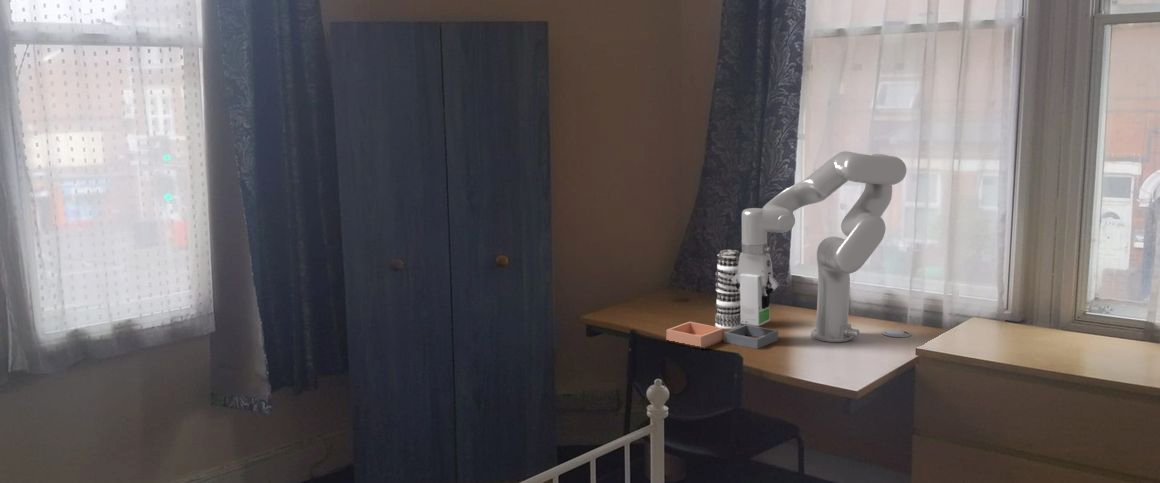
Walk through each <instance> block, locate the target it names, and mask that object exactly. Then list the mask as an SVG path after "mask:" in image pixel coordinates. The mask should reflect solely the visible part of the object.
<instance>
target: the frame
mask: <svg viewBox="0 0 1160 483" xmlns="http://www.w3.org/2000/svg"><path fill="white" fill-rule="evenodd" d="M746 335H747V336H746ZM776 341H779V330H777V329H771V328H766V327H762V326H751V325H744V324H742V325H741V326H740V327H738V328H735V329H729V330H727V331H725V332H724V336H723V343H726V344H727V343H728V344H731V345H735V346H740V347H744V348H750V349H754V350H759V349H762V348H763V347H765V346H768V345H770V344H772V343H775V342H776Z"/></svg>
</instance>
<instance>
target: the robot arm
mask: <svg viewBox="0 0 1160 483" xmlns="http://www.w3.org/2000/svg"><path fill="white" fill-rule="evenodd" d="M906 175H907V166H906V163H905V162H904V160H902V159H901V158H899V157H898V156H894V155H889V154H888V155H887V154H882V153H873V154H865V153H864V154H863V153H859V152H858V153H857V152H852V151H846V150H845V151H840V152H838V153H836V154H835V155H833V156H832V157H831V158H830V159H828V160H827V161H826V162H825V163H823V164H822V165H821V166H819V167H818V168H817V169H816V170H814V172H812V173H811V174H810V175H809V176H807V177H805V178H804V179H802V180H800V181H799V182H797V183H795V184H793V185H791V186H790V187H788V188H785V189H784V190H783V191H781V192H780V193H778V194H777V195H776V196H774V197H773V198H772V199H771V200H769V201H768V202H767V203H765V205H763V207H762V208H759V207H752V208H751V207H750V208H745V209H743V210H742V212H741V252H739V253H740V257H739V263H738V273H737V274H736V275H735V276H734V277H733V278H732V279H731V280H732V282H733V283H734V284H735V286H736V288H737V289H738V292H739V293H740V274H750V275H758V276H760V284H761V287H762V292H763V296H762V309H765V308H768V307H769V305H770V306H771V302H770V300H771V298H770V296H771V295H772V293H773V292H775V290H776V289H777V288H778V287H779V286H780V283H779V282H778V281H777V280H776V279H775V278H774V274H773V263H772V259H771V255H770V253H769V252H771V249H772V248H771V246H769V245H768V233H779V234H780V233H781V234H782V233H783V234H784V233H787V232H789V231H791V230H792V229H793V228H794V226H795V223H796V217H795V214H794V213H793V212H795V211H797V210H799V209H801V208H803V207H804V206H809V205H813V204H818V203H819V202H820V203H821V202H824V201H825V200H826V199H828V198H829V197H830V196H831V195H833V193H835V192H836V191H837V190H838V189H840V188H841V187H842V186H844V185H845V184H846V183H848V182H854V183H861V184H864V185H865V186H864V189H863V192H862V193H861V195H860V196H859V198H858V200H856V202H855V203H854V204H853V205H852V207H851V209H849V211H848V212H847V213H846V214H845V216H844V217H843V219H842V221H841V224H840V228H841V229H840V230H841V231H842V233H843V235H845V238H842V237H840V236H839V237H838V236H829V237H825V238H824V239H823V240H821V241H820V243H819V244H818V246H817V250H816V261H817V262H816V264H817V272H818V273H817V274H818V277H817V285H818V286H817V296H816V298H817V303H816V322H815V323H816V325H815V326H816V327H815V329H813V330H811V332H810V336H811V338H813V339H814V340H818V341H822V342H827V343H843V342H849V341H852V340H853V337H855V338H859V337H860V333H861V332H860V329H856V328H852V323H849V312H850V311H849V309H850V308H849V307H850V293H851V292H850V289H851V278H850V276H851V275H850V274H853V273H855V272H857V271H858V270H860V269H861V268H862V267H863V266H864V265H865V263H866V262H867V261H868V260H869V258H870V257H871V256H872V254H873V253H874V252H875V250H876V249H877V248H878V247H879V245H880V244H881V242H882V240H884V238H885V233H886V224H885V221H884V219H883V218H882V216H883V214H884V212H885V211H886V210H887V208H888V207H889V206H890V204H891V200H892V197H893V185H897V184H899V183H901V182H902V181H903V180H904V179H905V178H906Z"/></svg>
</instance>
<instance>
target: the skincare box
mask: <svg viewBox="0 0 1160 483" xmlns="http://www.w3.org/2000/svg"><path fill="white" fill-rule="evenodd" d="M762 296H763V292H762V287H761V284H760V276H758V275H750V274H740V309H741V313H740V314H741V323H740V324H741V325H751V326H756V327H761V326H762V325H765V324H766V323H768V322H770V320H771V315H770V314H771V313H770V312H771V311H770V310H771V309H770V308H771V307H770V306H771V304H770V305H769V307H768V308H765V309H762Z"/></svg>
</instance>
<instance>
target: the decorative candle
mask: <svg viewBox="0 0 1160 483" xmlns="http://www.w3.org/2000/svg"><path fill="white" fill-rule="evenodd" d="M740 253H741V252H739V250H736V249H723V250H720V252H719V253H718V254H717V255H716V256H717V265H716V267H715V269H714V270H715V271H716V272H715V273H714V274H715V278H714V279H715V282H716V283H715V284H714V285H715V291H716V292H717V295H716V297H717V298H716V303H715V312H716V313H715V314H714V317H715V319H714V321H715V323H714V326H715V327H720V328H724V330H732V329H735V328H738V327H740V326H742V324H741V308H740V293H739V292H738V289H737V288H736V286H735V284H734V283H733V282H732V280H731V279H732V278H733V277H734V276H735V275H736V274H737V273H738V263H739V257H740Z"/></svg>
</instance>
